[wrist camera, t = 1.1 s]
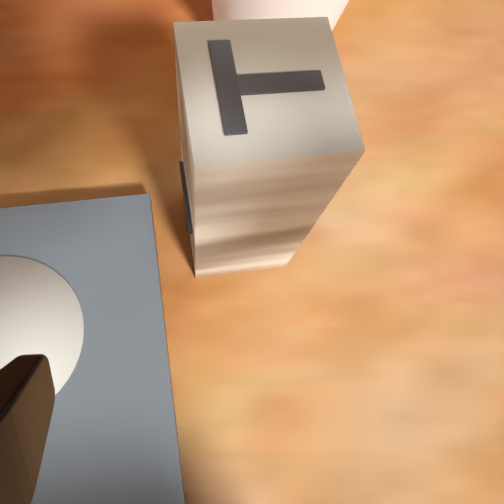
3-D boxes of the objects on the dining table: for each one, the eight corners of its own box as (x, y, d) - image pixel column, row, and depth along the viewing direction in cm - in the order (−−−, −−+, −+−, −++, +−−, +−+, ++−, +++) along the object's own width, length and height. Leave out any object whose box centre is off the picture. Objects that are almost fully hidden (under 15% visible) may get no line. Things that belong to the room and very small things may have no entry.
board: (185, 505, 18) (184, 511, 17) (-139, 577, 16) (-162, 589, 15) (151, 202, 22) (149, 192, 21) (-111, 228, 20) (-127, 219, 19)
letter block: (285, 265, 22) (366, 148, 11) (192, 278, 21) (187, 164, 11) (269, 184, 23) (328, 13, 13) (181, 194, 22) (167, 19, 12)
